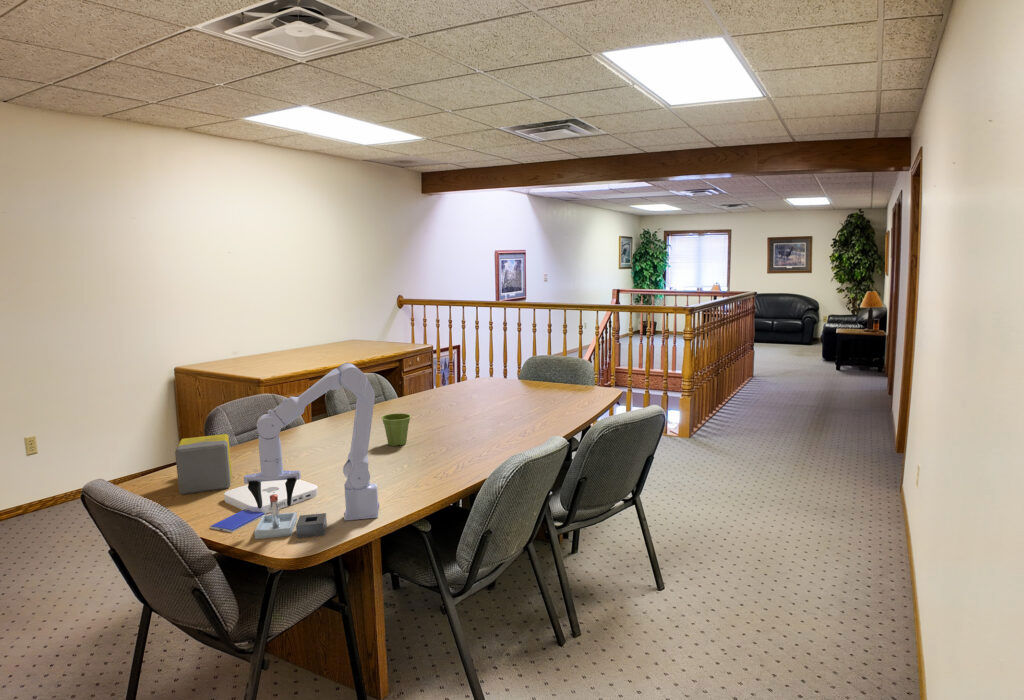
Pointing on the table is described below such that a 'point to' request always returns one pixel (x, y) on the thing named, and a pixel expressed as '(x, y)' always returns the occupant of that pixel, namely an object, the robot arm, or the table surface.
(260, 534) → the parts tray
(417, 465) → the table surface
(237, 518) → the hard drive
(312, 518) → the grey square socket block
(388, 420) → the plant pot
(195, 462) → the grey-yellow rounded block
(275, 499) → the pin
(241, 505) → the computer
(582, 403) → the table surface
